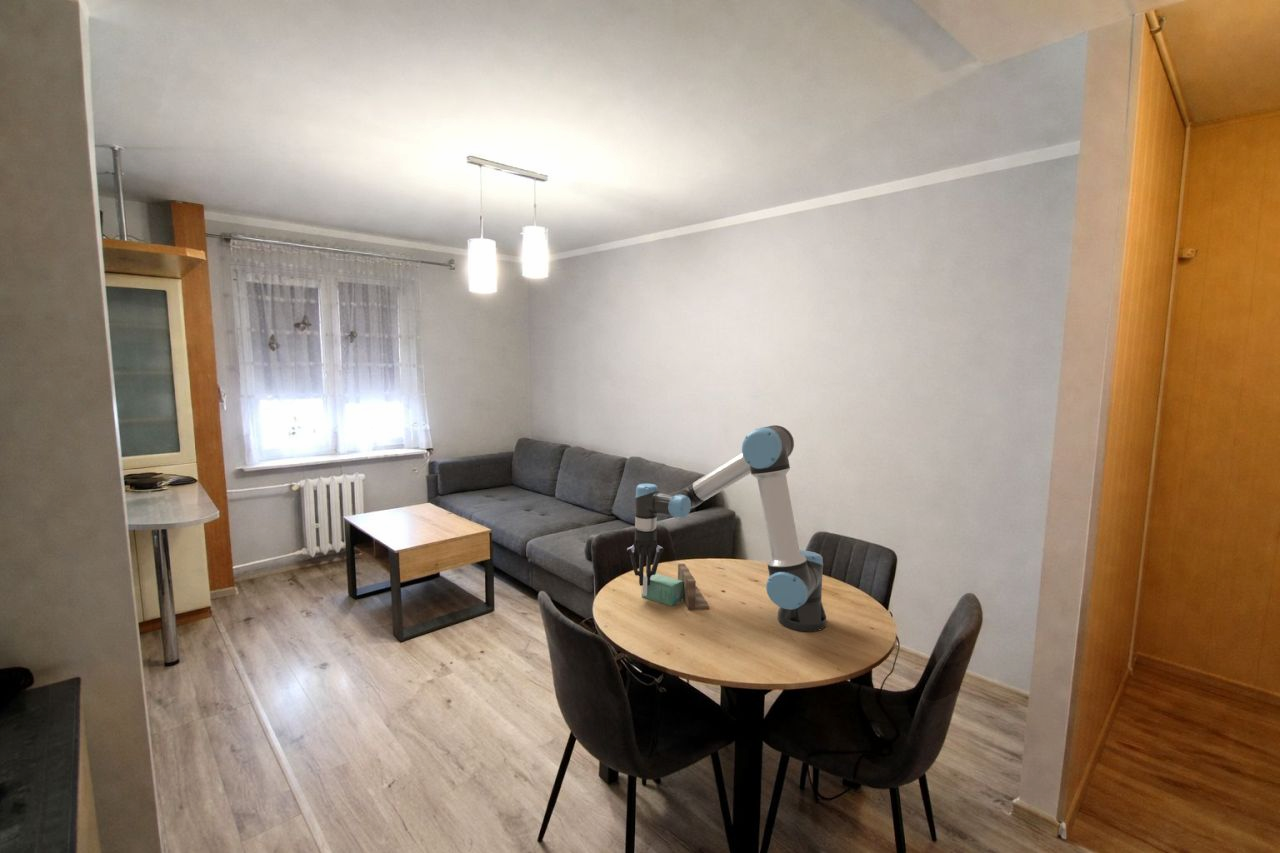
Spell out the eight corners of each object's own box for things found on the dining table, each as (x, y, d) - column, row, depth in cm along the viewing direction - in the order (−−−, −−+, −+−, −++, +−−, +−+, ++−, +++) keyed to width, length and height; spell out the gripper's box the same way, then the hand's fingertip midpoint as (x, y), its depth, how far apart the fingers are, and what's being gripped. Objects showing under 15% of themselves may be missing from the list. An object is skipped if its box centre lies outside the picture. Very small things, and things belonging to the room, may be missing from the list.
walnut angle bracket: (708, 609, 188) (709, 580, 188) (688, 610, 188) (688, 581, 187) (696, 589, 206) (697, 563, 205) (677, 590, 205) (678, 563, 204)
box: (672, 607, 190) (672, 585, 189) (641, 597, 198) (641, 577, 198) (683, 600, 196) (684, 579, 195) (653, 591, 204) (653, 571, 203)
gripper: (662, 525, 197) (660, 589, 199) (626, 525, 195) (624, 590, 197) (666, 530, 190) (664, 597, 192) (628, 531, 188) (627, 598, 190)
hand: (644, 594), depth 194 cm, fingers closed
